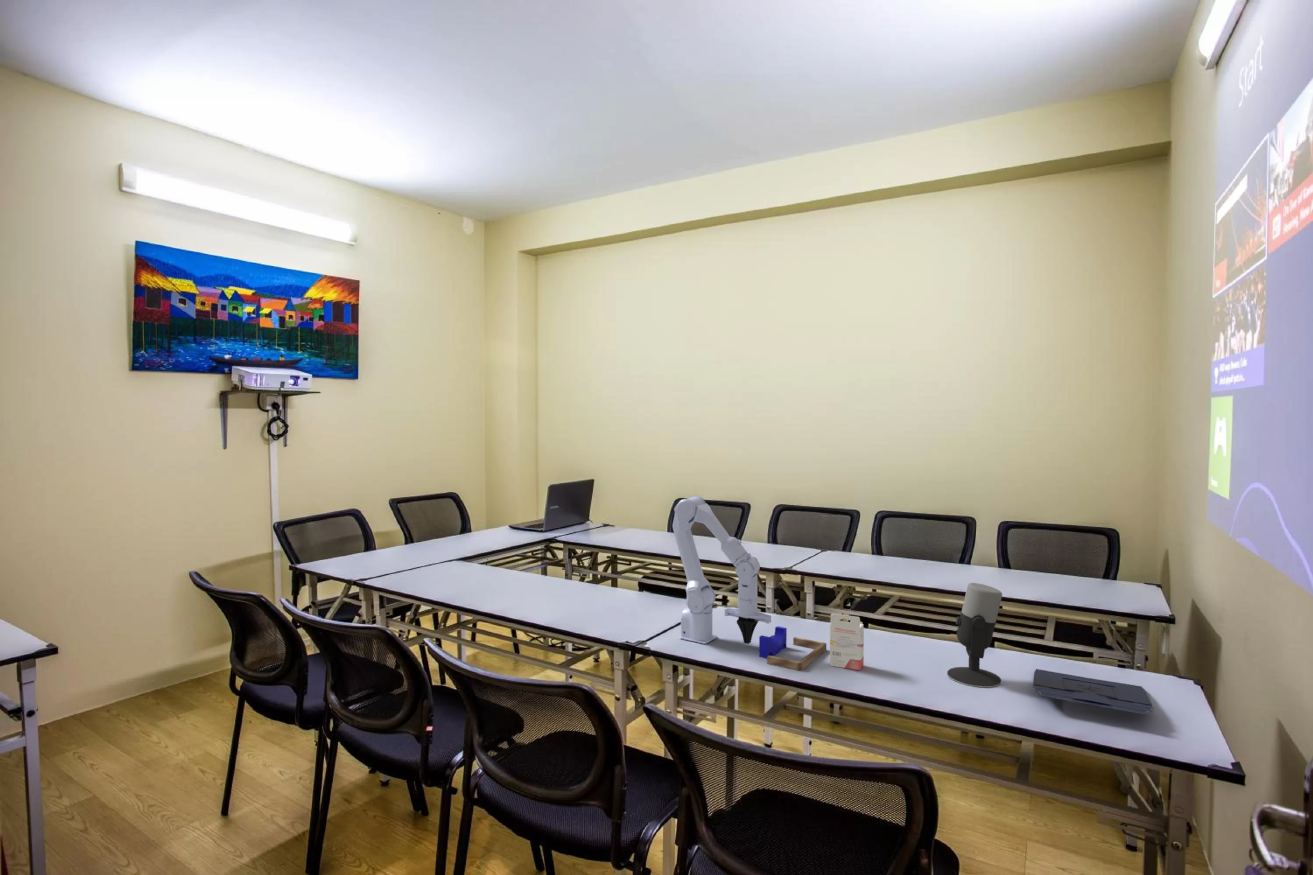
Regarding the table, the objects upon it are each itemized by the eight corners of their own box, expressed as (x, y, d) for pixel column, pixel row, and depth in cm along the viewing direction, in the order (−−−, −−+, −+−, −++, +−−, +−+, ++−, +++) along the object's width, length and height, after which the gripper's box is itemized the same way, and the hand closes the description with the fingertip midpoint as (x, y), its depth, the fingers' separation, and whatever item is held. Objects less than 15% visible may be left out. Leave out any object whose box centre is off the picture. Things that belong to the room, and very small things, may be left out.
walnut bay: (767, 663, 192) (767, 656, 192) (794, 643, 209) (794, 636, 209) (801, 670, 187) (801, 663, 187) (826, 649, 203) (826, 643, 203)
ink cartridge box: (864, 665, 191) (864, 612, 190) (860, 671, 187) (861, 617, 186) (833, 659, 195) (833, 608, 194) (829, 665, 191) (829, 613, 190)
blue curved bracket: (772, 644, 208) (772, 625, 208) (786, 647, 206) (786, 627, 205) (754, 656, 198) (754, 635, 198) (768, 659, 196) (768, 638, 196)
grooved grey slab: (1031, 705, 162) (1031, 689, 162) (1034, 678, 188) (1034, 665, 188) (1157, 729, 150) (1158, 712, 150) (1142, 697, 176) (1143, 682, 176)
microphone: (1006, 689, 174) (1008, 592, 173) (951, 684, 177) (953, 588, 177) (995, 671, 187) (996, 580, 186) (943, 666, 190) (945, 577, 189)
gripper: (775, 598, 205) (775, 643, 206) (732, 591, 213) (732, 634, 214) (765, 603, 199) (765, 650, 200) (721, 596, 207) (721, 640, 208)
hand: (747, 642), depth 206 cm, fingers closed
